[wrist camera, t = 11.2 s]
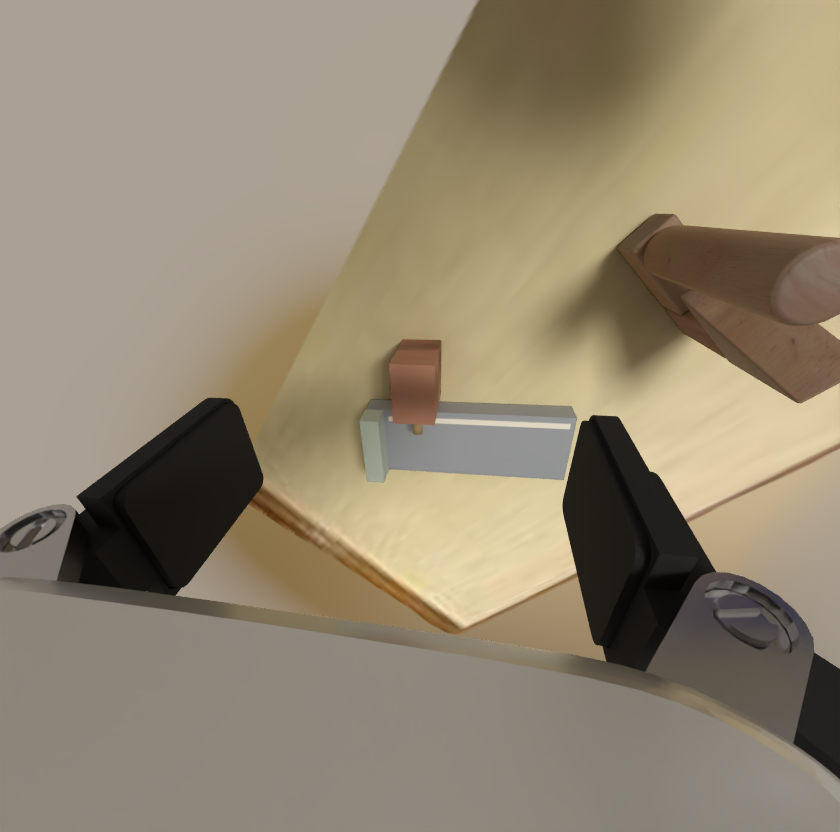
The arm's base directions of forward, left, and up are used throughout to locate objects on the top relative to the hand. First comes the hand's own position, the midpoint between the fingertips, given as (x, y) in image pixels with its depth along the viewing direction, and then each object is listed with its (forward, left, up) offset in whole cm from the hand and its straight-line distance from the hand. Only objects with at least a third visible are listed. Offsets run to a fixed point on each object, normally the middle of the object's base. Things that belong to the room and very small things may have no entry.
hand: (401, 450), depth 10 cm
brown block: (+10, -3, -28) cm, 30 cm away
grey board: (+17, +2, -28) cm, 33 cm away
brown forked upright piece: (0, +19, -28) cm, 34 cm away
